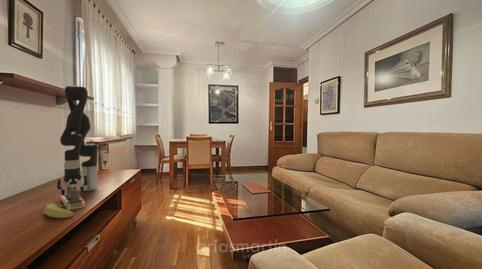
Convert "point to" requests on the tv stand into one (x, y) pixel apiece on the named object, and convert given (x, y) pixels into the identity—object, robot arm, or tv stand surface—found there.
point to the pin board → (72, 200)
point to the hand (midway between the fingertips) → (72, 194)
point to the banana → (57, 211)
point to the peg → (72, 188)
